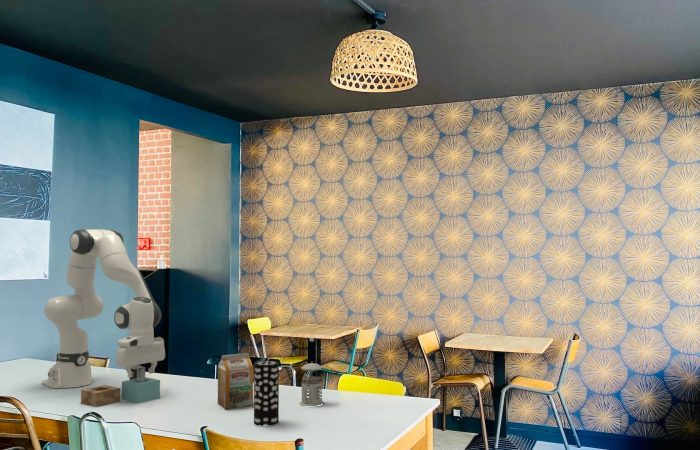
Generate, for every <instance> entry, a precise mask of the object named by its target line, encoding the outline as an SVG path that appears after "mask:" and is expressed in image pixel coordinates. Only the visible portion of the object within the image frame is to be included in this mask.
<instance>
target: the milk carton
mask: <svg viewBox="0 0 700 450" xmlns="http://www.w3.org/2000/svg"><path fill="white" fill-rule="evenodd" d="M217 405H219V406H220V407H221V408H222V409H223V410H225V411H227V410H228V411H229V410H236V409H243V408H244V409H245V408H251V407H252V408H254V365H253V364H252V360H251V358H250V354H249V352H247V353H235V354H225V355H224V354H223V355H221V359H220V361H219V362H218V366H217Z"/></svg>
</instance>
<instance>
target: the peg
mask: <svg viewBox="0 0 700 450" xmlns="http://www.w3.org/2000/svg"><path fill="white" fill-rule="evenodd" d="M145 377H146V367H145V366H141V367H138V368H137V382H144V381H145Z"/></svg>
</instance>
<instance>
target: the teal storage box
mask: <svg viewBox="0 0 700 450" xmlns="http://www.w3.org/2000/svg"><path fill="white" fill-rule="evenodd" d="M160 398H161V380H160V379H157V378H153V377H152V378H151V377H146V376H145V381H144V382H137V379H132V380H129V379H127V380H123V381H121V400H122V401H125V402H129V403H133V404H141V403H145V402H146V403H147V402H150V401H154V400H157V399H160Z"/></svg>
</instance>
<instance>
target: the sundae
mask: <svg viewBox="0 0 700 450" xmlns="http://www.w3.org/2000/svg"><path fill="white" fill-rule="evenodd" d="M138 367H142V364H138V365H133V366H132V367H131V369H130V370H131V372H133V373H134V377H131V378H129V377H128V380H132V379H137V368H138Z"/></svg>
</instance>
